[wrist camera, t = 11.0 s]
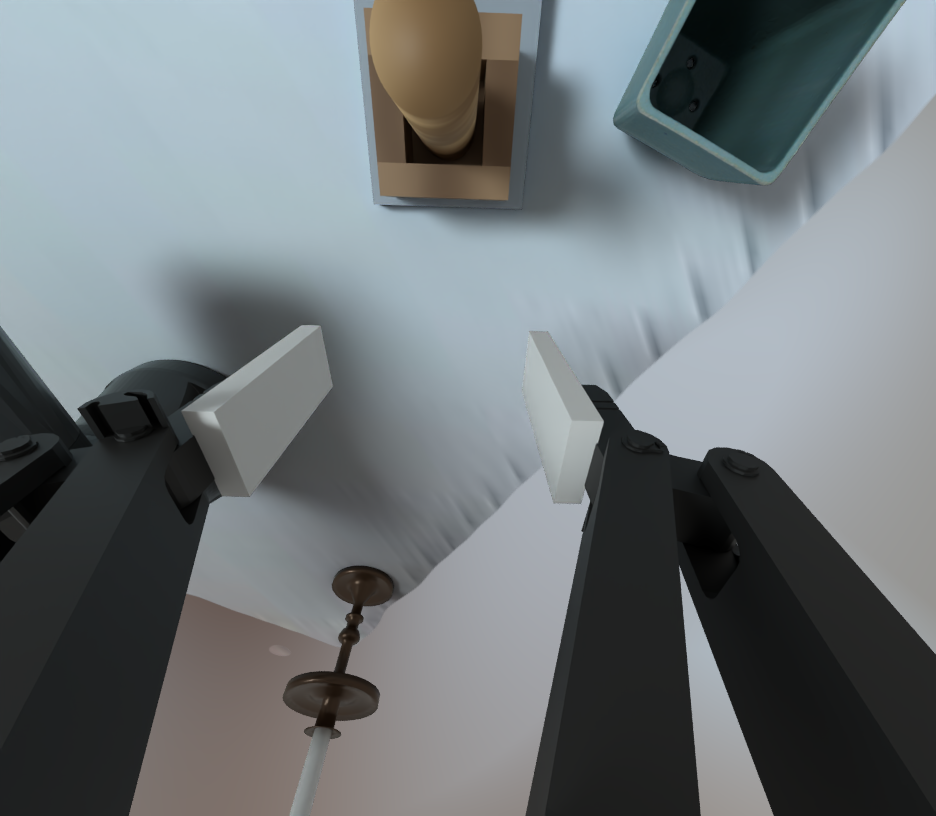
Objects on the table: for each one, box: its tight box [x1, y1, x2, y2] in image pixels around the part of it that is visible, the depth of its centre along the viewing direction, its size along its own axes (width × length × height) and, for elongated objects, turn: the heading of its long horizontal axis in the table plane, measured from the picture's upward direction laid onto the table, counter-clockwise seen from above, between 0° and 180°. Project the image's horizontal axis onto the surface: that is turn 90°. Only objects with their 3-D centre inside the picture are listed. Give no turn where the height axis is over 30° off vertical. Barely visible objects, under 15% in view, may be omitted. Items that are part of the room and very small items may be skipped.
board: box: [354, 0, 542, 209], centre depth 19 cm, size 11×19×4 cm, turn 178°
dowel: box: [369, 0, 482, 161], centre depth 16 cm, size 4×4×13 cm
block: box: [364, 8, 522, 201], centre depth 21 cm, size 8×8×4 cm
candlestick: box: [283, 566, 394, 816], centre depth 37 cm, size 11×11×35 cm
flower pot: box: [613, 0, 906, 185], centre depth 19 cm, size 9×9×9 cm
